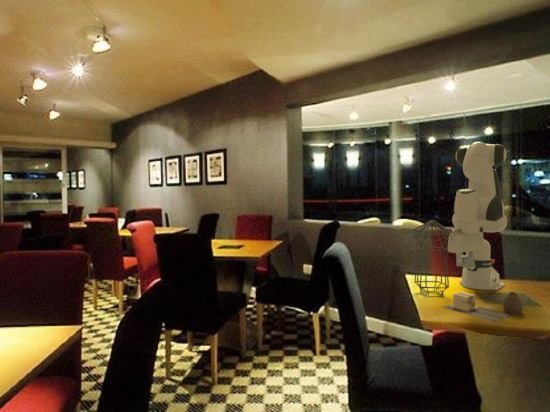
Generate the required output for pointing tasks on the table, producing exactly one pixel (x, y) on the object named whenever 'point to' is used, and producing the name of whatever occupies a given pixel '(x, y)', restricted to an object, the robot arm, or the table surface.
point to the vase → (513, 304)
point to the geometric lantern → (442, 228)
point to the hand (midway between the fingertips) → (465, 262)
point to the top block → (466, 261)
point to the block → (464, 300)
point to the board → (480, 312)
